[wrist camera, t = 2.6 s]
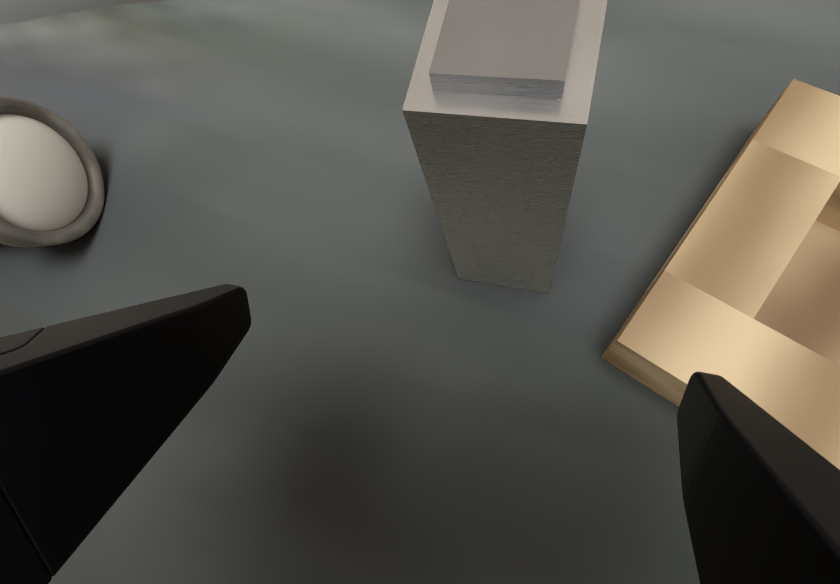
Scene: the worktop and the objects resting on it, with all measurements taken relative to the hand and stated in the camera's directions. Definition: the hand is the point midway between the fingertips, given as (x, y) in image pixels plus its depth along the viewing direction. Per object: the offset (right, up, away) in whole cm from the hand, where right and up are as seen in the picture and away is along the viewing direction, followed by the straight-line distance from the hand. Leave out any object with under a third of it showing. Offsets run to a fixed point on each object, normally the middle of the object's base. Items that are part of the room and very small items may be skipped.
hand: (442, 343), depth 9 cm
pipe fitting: (-26, +6, +22) cm, 35 cm away
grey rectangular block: (+4, +3, +15) cm, 16 cm away
